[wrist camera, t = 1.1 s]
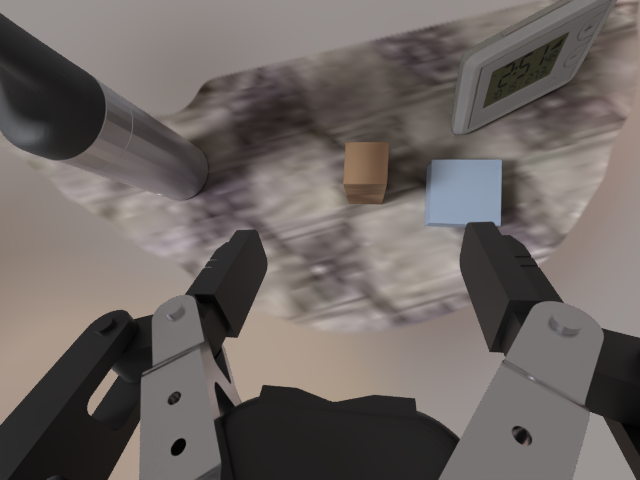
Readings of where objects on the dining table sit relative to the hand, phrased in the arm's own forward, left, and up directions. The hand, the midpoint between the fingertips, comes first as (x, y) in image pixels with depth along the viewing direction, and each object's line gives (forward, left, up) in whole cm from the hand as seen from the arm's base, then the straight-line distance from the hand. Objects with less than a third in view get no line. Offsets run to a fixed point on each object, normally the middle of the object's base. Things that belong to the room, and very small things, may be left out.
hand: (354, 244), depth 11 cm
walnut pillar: (0, +10, -28) cm, 29 cm away
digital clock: (+17, +23, -28) cm, 40 cm away
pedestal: (+12, +9, -28) cm, 31 cm away
